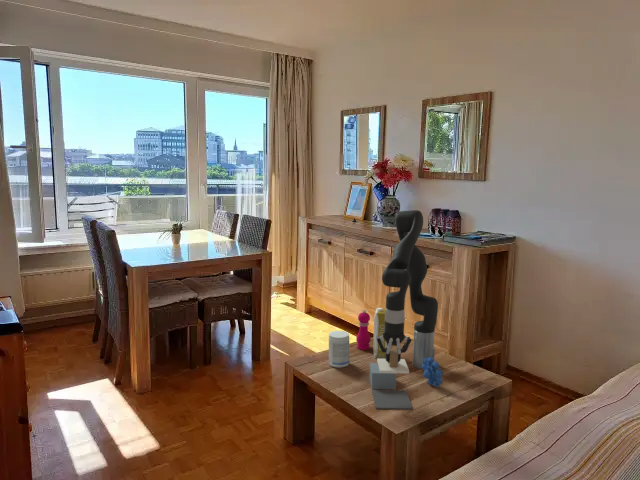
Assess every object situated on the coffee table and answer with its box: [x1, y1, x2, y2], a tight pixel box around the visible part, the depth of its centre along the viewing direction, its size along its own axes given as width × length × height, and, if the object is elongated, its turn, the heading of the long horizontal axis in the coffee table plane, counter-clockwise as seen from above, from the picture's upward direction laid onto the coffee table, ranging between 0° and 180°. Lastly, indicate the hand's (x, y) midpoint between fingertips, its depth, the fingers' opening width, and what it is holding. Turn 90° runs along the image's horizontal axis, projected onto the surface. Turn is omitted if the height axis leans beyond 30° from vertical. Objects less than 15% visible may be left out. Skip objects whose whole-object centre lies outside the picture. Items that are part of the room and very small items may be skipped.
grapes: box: [421, 357, 444, 388], centre depth 197 cm, size 12×7×12 cm, turn 31°
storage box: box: [369, 362, 397, 390], centre depth 199 cm, size 10×10×7 cm
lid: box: [376, 348, 410, 374], centre depth 183 cm, size 11×11×6 cm
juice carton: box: [372, 307, 387, 360], centre depth 226 cm, size 9×8×24 cm
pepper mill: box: [355, 309, 372, 351], centre depth 236 cm, size 7×7×20 cm
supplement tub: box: [328, 330, 350, 369], centre depth 217 cm, size 10×10×15 cm
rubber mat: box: [371, 389, 413, 411], centre depth 186 cm, size 14×14×1 cm
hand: (392, 361), depth 183 cm, fingers closed on lid, 3 cm apart
